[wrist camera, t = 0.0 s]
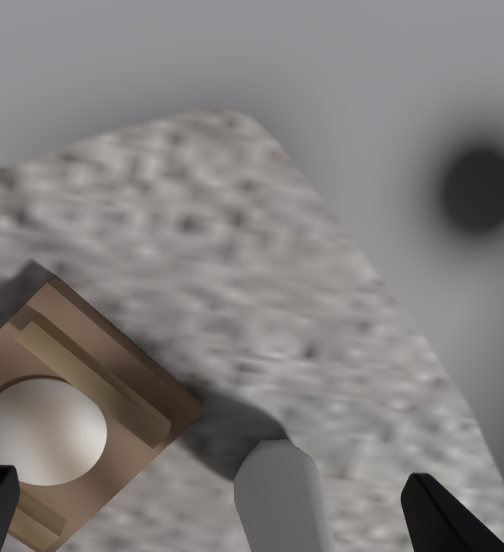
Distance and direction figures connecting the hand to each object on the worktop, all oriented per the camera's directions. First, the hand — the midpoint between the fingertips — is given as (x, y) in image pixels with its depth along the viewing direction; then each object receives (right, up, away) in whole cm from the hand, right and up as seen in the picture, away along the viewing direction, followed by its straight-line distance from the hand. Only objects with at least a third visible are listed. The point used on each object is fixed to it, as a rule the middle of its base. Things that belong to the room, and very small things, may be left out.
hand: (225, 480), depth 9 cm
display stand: (-12, -4, +15) cm, 20 cm away
